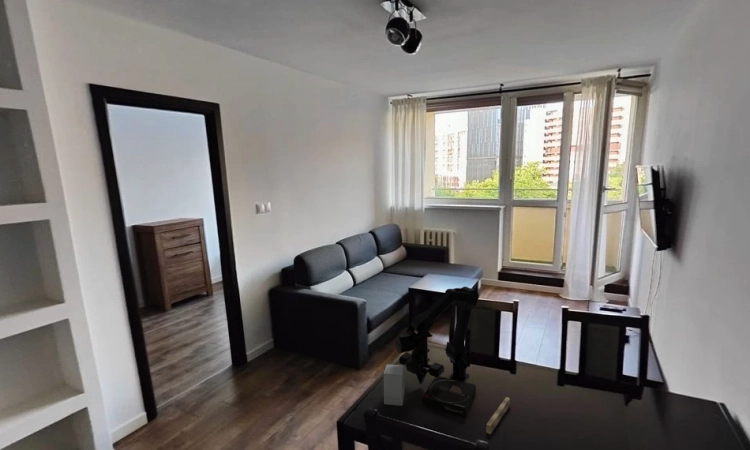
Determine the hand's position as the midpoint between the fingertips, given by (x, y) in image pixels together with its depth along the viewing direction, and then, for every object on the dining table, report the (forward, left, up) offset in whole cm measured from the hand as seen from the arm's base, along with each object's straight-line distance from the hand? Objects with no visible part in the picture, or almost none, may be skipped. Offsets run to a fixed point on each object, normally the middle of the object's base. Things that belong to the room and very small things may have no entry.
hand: (421, 383), depth 145 cm
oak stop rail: (0, +32, -2) cm, 32 cm away
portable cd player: (0, +13, -2) cm, 13 cm away
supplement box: (+14, -4, -2) cm, 14 cm away
